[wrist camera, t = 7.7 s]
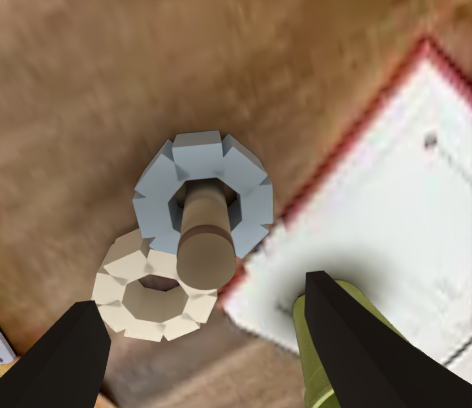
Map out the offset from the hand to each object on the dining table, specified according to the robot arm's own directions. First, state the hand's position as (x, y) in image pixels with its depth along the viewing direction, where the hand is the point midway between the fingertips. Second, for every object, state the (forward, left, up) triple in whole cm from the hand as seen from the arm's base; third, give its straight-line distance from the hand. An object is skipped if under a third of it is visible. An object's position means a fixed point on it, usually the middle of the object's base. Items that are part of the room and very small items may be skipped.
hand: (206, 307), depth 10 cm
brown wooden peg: (0, 0, -10) cm, 10 cm away
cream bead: (-4, -6, -10) cm, 12 cm away
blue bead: (0, 0, -10) cm, 10 cm away
